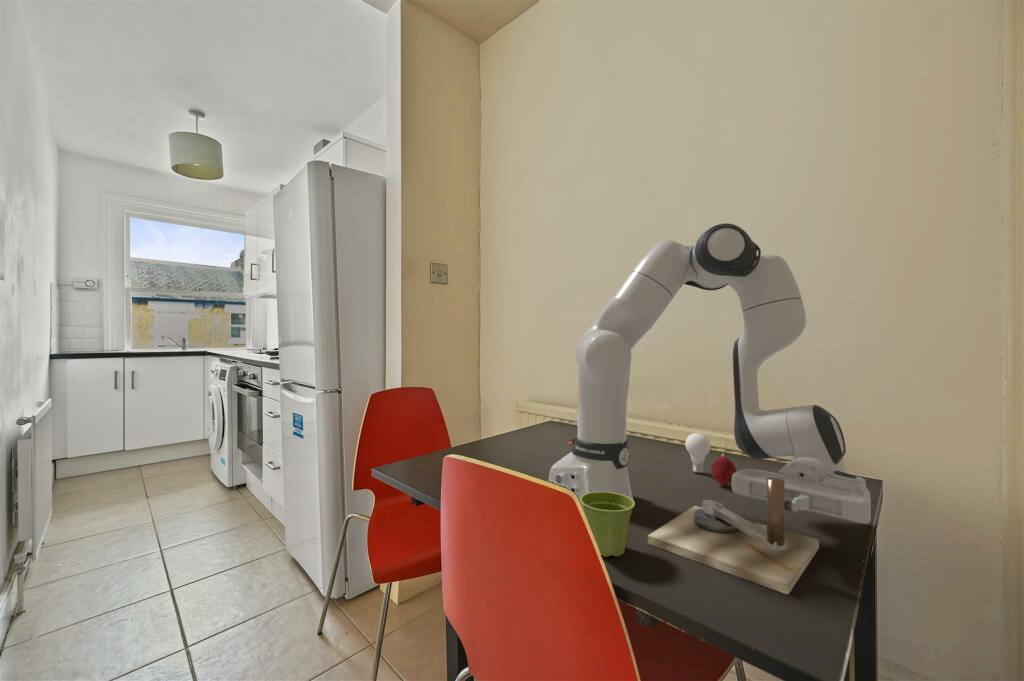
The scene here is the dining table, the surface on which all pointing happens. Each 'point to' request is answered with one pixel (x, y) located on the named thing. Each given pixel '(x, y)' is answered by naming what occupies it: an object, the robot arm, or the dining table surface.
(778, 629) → the dining table surface
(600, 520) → the plant pot
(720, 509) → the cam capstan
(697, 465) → the lightbulb
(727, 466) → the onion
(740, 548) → the stand
